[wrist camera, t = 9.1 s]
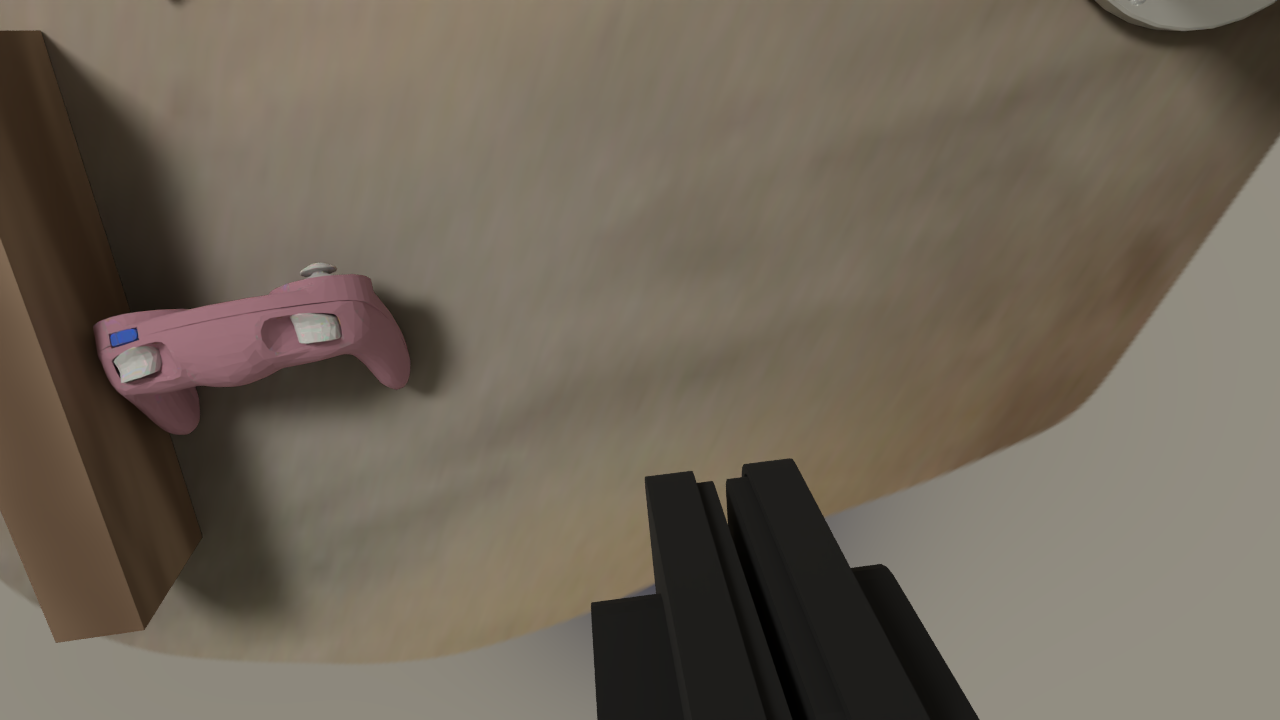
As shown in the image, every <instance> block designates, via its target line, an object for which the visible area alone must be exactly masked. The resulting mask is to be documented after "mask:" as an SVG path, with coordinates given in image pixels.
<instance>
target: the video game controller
mask: <svg viewBox="0 0 1280 720" xmlns="http://www.w3.org/2000/svg"><path fill="white" fill-rule="evenodd" d="M336 270H337V268H336V267H335V266H333V265H330V264H326V263H314V264H311V265H309V266H308V267H306V268H305V269H303V270H302V271H301V272H300V275H302V276H305V277H308V278H306V279H303V280H299V281H295V282H292V283H288V284H285V285H283V286H280V287H278V288H275V289H274V290H272V291H271V292H270V294H269V295H264V296H258V297H251V298H244V299H239V300H234V301H228V302H223V303H217V304H212V305H207V306H202V307H198V308H193V309H164V310H151V311H142V312H134V313H127V314H122V315H117V316H113V317H110V318H107V319H104V320H101V321H99V322H98V323H96V324H95V325H94V326H93V330H94V336H95V342H96V348H97V354H98V359H99V360H100V361H101V363H102V366H103V369H104V371H105V374H106V376H107V378H108V380H109V381H110V383H111V385H112V386H113V387H114V388H115V389H116V390H117V392H118V393H120V394H121V395H122V396H124V397H125V398H126V399H127V400H129V401H130V402H131V403H133V404H134V405H135V406H136V407H137V408H138V409H139V410H141V411H142V412H143V413H144V414H145V415H146V416H147V417H148V418H150V419H151V420H152V421H153V422H154V423H155V424H156V425H158V426H159V427H160V428H162V429H163V430H164V431H166V432H169V433H172V434H177V435H186V434H190V433H191V432H192V431H193V430H194V429H195V428H196V427H197V425H198V423H199V420H200V407H199V397H198V393H197V390H196V387H195V386H211V387H236V386H241V385H246V384H250V383H253V382H255V381H258V380H260V379H263V378H265V377H267V376H269V375H271V374H273V373H275V372H277V371H278V370H280V369H282V368H286V367H291V366H296V365H301V364H306V363H311V362H316V361H320V360H324V359H328V358H331V357H335V356H339V355H343V354H352V355H354V356H355V357H357V358H358V359H359V360H360V361H361V362H363V363H364V364H365V365H366V366H367V367H368V369H369V370H370V371H371V372H372V373H373V374H374V375H375V377H376V378H377V379H378V380H379V381H380V382H381V383H382V384H384V385H386V386H387V387H390V388H392V389H395V390H397V389H400V388H403V387H404V386H405V385H406V383H407V382H408V379H409V375H410V356H409V352H408V349H407V345H406V342H405V339H404V337H403V335H402V332H401V330H400V328H399V326H398V325H397V323H396V321H395V319H394V318H393V316H392V314H391V313H390V311H389V310H388V309H387V308H386V306H385V305H384V304H383V303H382V301H381V300H380V299H379V298H378V296H377V295H376V294H375V293H374V292H373V287H372V282H371V279H370V278H368V277H367V276H363V275H355V274H348V275H332V274H330V273H333V272H335V271H336Z"/></svg>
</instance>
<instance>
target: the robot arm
mask: <svg viewBox="0 0 1280 720" xmlns="http://www.w3.org/2000/svg"><path fill="white" fill-rule="evenodd" d="M1095 1H1096V2H1097V3H1098V4H1099V5H1100V6H1101V7H1102V8H1103V9H1105V10H1106V11H1108V12H1110V13H1112V14H1113V15H1115V16H1117V17H1119V18H1121V19H1123V20H1124V21H1126V22H1128V23H1131V24H1135V25H1138V26H1142V27H1146V28H1150V29H1154V30H1172V31H1190V30H1201V29H1212V28H1216V27H1220V26H1223V25H1226V24H1230V23H1233V22H1236V21H1239V20H1243V19H1245V18H1247V17H1249V16H1251V15H1252V14H1254V13H1256V12H1258V11H1260V10H1262V9H1264V8H1266V7H1268V6H1270V5H1272V4H1273V3H1275V2H1276V1H1277V0H1095ZM645 489H646V499H647V509H648V518H649V528H650V538H651V548H652V558H653V567H654V577H655V586H656V594H652V595H645V596H637V597H630V598H622V599H615V600H607V601H600V602H592V603H591V615H592V633H593V650H594V667H595V684H596V702H597V718H598V720H979V718H978V716H977V715H976V713H975V711H974V710H973V708H972V707H971V705H970V703H969V701H968V700H967V698H966V696H965V694H964V693H963V691H962V689H961V688H960V686H959V684H958V683H957V681H956V679H955V678H954V676H953V674H952V673H951V671H950V669H949V668H948V666H947V664H946V663H945V661H944V659H943V658H942V656H941V654H940V653H939V651H938V649H937V647H936V646H935V644H934V642H933V641H932V639H931V637H930V636H929V634H928V632H927V631H926V629H925V628H924V626H923V624H922V622H921V621H920V619H919V617H918V616H917V614H916V612H915V611H914V609H913V607H912V605H911V604H910V602H909V601H908V599H907V597H906V595H905V594H904V592H903V591H902V589H901V587H900V585H899V584H898V582H897V580H896V579H895V577H894V575H893V574H892V573H891V572H890V570H889V569H888V568H887V567H886V566H884V565H882V564H877V565H870V566H863V567H855V568H850V566H849V564H848V563H847V561H846V559H845V557H844V555H843V553H842V551H841V549H840V547H839V545H838V543H837V541H836V540H835V538H834V536H833V534H832V532H831V530H830V528H829V526H828V524H827V522H826V521H825V519H824V517H823V515H822V513H821V511H820V509H819V507H818V505H817V503H816V502H815V500H814V498H813V496H812V494H811V492H810V490H809V488H808V486H807V484H806V483H805V481H804V479H803V477H802V475H801V473H800V471H799V469H798V467H797V465H796V464H795V462H794V461H793V459H790V458H789V459H782V460H774V461H766V462H758V463H750V464H744V465H743V467H742V477H740V478H733V479H727V481H726V498H727V515H728V524H727V521H726V518H725V515H724V512H723V509H722V506H721V503H720V500H719V497H718V494H717V491H716V488H715V485H714V483H713V481H709V482H701V483H696V480H695V477H694V474H693V471H687V472H679V473H671V474H663V475H655V476H647V477H645Z"/></svg>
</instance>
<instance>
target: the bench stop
mask: <svg viewBox="0 0 1280 720" xmlns="http://www.w3.org/2000/svg"><path fill="white" fill-rule="evenodd" d="M127 313H131V312H130V309H129V306H128V302H127V299H126V296H125V293H124V290H123V287H122V284H121V281H120V277H119V274H118V271H117V268H116V265H115V262H114V259H113V256H112V252H111V249H110V246H109V243H108V240H107V237H106V234H105V230H104V227H103V224H102V221H101V218H100V215H99V212H98V209H97V205H96V202H95V199H94V196H93V193H92V190H91V187H90V184H89V180H88V177H87V174H86V171H85V168H84V165H83V162H82V159H81V155H80V152H79V149H78V146H77V143H76V140H75V137H74V133H73V130H72V127H71V124H70V121H69V118H68V115H67V112H66V108H65V105H64V102H63V99H62V96H61V93H60V90H59V87H58V83H57V80H56V77H55V74H54V71H53V68H52V65H51V62H50V58H49V55H48V52H47V49H46V46H45V43H44V40H43V36H42V33H41V31H0V510H1V513H2V515H3V518H4V520H5V522H6V525H7V527H8V529H9V532H10V534H11V537H12V539H13V541H14V544H15V546H16V549H17V551H18V553H19V556H20V558H21V561H22V563H23V565H24V568H25V570H26V572H27V575H28V577H29V580H30V582H31V584H32V587H33V589H34V592H35V594H36V596H37V599H38V601H39V604H40V606H41V608H42V611H43V613H44V615H45V618H46V620H47V623H48V625H49V627H50V630H51V632H52V635H53V637H54V639H55V641H56V643H58V642H65V641H71V640H78V639H86V638H93V637H100V636H106V635H113V634H120V633H127V632H134V631H141V630H145V628H146V627H147V625H148V623H149V622H150V620H151V619H152V617H153V615H154V614H155V612H156V611H157V609H158V607H159V606H160V604H161V603H162V601H163V599H164V598H165V596H166V595H167V593H168V591H169V590H170V588H171V587H172V585H173V583H174V582H175V580H176V579H177V577H178V575H179V574H180V572H181V571H182V569H183V567H184V566H185V564H186V563H187V561H188V559H189V558H190V556H191V555H192V553H193V551H194V550H195V548H196V547H197V545H198V543H199V542H200V540H201V539H202V534H201V531H200V528H199V525H198V521H197V518H196V515H195V512H194V509H193V506H192V503H191V500H190V496H189V493H188V490H187V487H186V484H185V481H184V478H183V475H182V471H181V468H180V465H179V462H178V459H177V456H176V453H175V450H174V446H173V443H172V440H171V437H170V434H169V432H166V431H164V430H163V429H162V428H160V427H159V426H158V425H156V424H155V423H154V422H153V421H152V420H151V419H150V418H148V417H147V416H146V415H145V414H144V413H143V412H142V411H141V410H139V409H138V408H137V407H136V406H135V405H134V404H133V403H131V402H130V401H129V400H127V399H126V398H125V397H124V396H122V395H121V394H120V393H118V392H117V390H116V389H115V388H114V387H113V386H112V385H111V383H110V381H109V380H108V378H107V376H106V374H105V371H104V369H103V366H102V363H101V361H100V360H99V359H98V354H97V348H96V342H95V336H94V330H93V326H94V325H95V324H96V323H98V322H99V321H101V320H104V319H107V318H110V317H113V316H117V315H122V314H127Z"/></svg>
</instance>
